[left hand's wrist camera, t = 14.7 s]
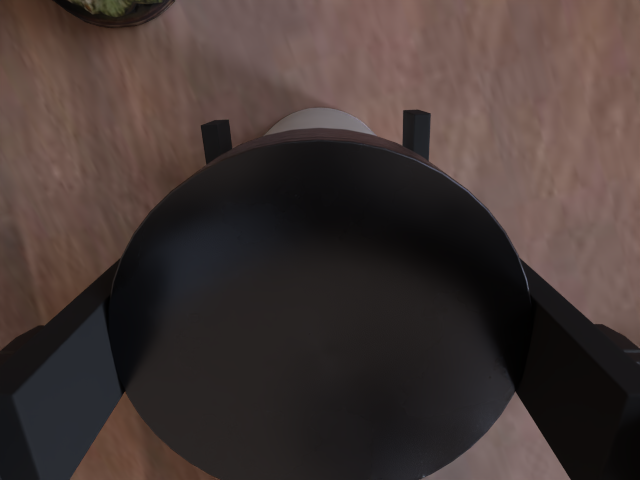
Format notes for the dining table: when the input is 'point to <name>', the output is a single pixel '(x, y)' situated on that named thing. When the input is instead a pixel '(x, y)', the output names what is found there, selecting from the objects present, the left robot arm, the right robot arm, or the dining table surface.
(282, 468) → the lid
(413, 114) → the right robot arm
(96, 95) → the dining table surface
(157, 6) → the figurine
